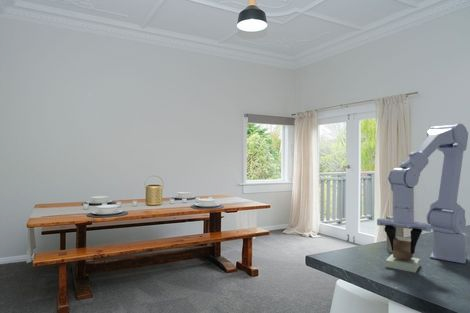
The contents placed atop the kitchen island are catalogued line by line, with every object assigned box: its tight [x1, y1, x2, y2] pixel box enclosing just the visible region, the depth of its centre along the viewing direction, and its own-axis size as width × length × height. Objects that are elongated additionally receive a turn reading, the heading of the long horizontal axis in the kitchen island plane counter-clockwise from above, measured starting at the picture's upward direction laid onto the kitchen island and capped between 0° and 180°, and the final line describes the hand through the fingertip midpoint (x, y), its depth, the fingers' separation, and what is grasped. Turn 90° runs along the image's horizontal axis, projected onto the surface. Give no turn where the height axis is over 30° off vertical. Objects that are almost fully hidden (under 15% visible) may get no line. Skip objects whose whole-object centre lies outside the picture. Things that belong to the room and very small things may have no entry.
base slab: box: [385, 253, 421, 273], centre depth 99 cm, size 8×8×2 cm
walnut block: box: [392, 237, 414, 260], centre depth 99 cm, size 5×5×6 cm
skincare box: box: [385, 215, 405, 254], centre depth 115 cm, size 6×4×12 cm
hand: (402, 251), depth 99 cm, fingers closed on walnut block, 4 cm apart
